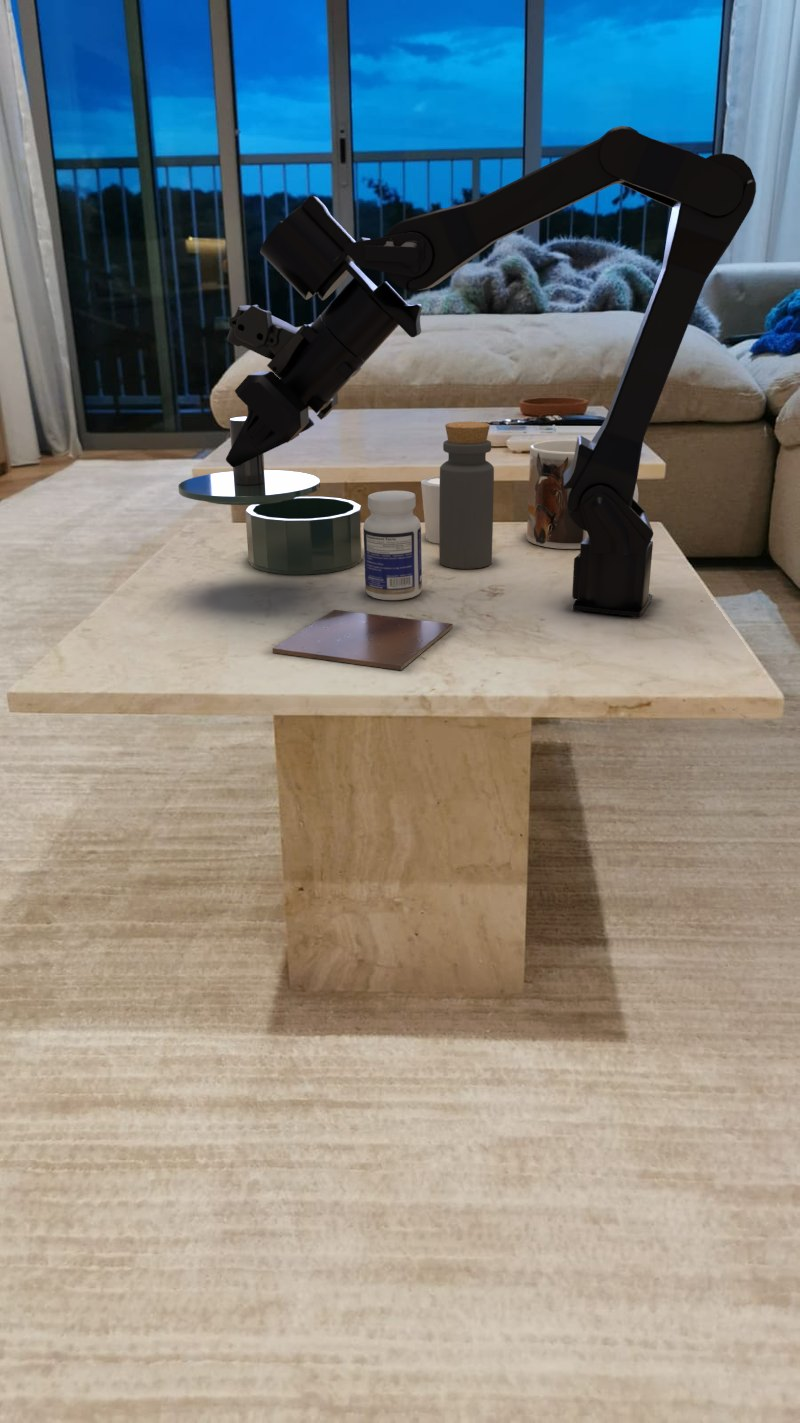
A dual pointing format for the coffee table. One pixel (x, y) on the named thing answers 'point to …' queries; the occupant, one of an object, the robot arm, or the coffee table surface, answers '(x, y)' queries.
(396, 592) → the pill bottle
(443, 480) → the bottle
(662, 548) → the coffee table surface
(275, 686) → the coffee table surface
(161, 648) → the coffee table surface
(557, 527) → the mug
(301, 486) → the tin lid
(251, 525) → the tin
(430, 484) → the shot glass
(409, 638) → the glossy brown square tile
